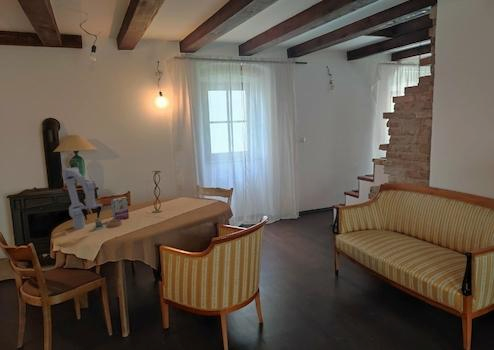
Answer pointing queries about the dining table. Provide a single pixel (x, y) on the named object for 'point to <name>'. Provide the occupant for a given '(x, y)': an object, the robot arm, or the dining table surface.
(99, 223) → the cell
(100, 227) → the checker
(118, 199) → the candy bar box
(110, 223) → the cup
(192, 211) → the dining table surface
